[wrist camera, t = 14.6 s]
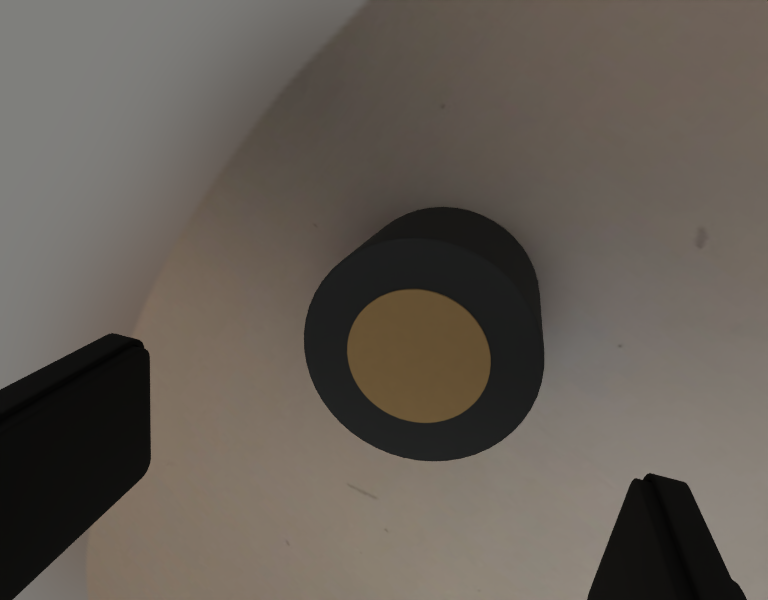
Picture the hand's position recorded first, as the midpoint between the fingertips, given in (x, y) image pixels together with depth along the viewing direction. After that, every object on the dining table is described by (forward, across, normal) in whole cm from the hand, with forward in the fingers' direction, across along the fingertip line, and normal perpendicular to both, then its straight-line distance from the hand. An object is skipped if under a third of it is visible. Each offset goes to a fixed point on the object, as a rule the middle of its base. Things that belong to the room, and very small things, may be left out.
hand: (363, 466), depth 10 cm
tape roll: (+9, 0, 0) cm, 9 cm away
